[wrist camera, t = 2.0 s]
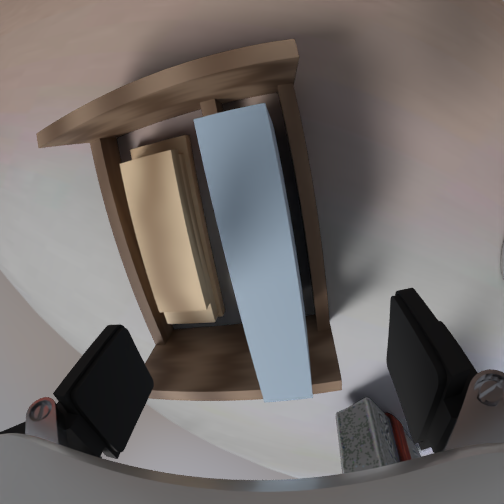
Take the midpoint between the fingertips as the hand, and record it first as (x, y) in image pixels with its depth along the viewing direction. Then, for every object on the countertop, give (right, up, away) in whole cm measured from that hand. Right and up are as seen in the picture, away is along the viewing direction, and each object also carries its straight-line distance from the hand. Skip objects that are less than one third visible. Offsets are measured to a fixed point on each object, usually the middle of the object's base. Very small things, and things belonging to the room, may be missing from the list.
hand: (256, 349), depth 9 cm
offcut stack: (-7, +5, +19) cm, 21 cm away
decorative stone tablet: (+22, -27, +28) cm, 44 cm away
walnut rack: (-4, +6, +18) cm, 19 cm away
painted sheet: (+2, +6, +17) cm, 18 cm away
